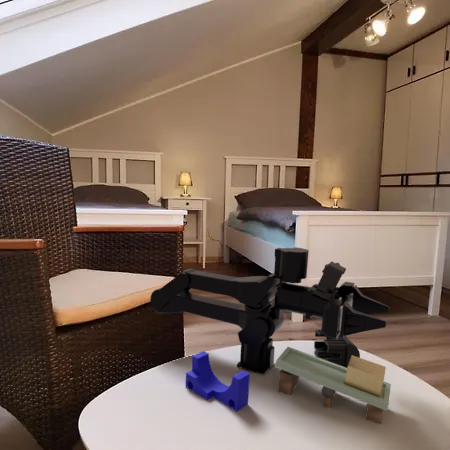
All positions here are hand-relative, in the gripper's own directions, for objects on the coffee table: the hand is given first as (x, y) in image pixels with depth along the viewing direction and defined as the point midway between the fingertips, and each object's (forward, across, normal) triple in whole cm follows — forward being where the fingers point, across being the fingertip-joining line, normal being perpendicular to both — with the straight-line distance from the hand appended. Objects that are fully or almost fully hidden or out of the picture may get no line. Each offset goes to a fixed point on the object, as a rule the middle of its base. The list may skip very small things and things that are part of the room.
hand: (387, 316), depth 68 cm
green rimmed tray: (-8, -5, +13) cm, 16 cm away
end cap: (-10, +11, +17) cm, 23 cm away
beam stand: (-8, -5, +17) cm, 19 cm away
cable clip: (-27, -15, +17) cm, 35 cm away
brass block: (-3, -5, +12) cm, 13 cm away
